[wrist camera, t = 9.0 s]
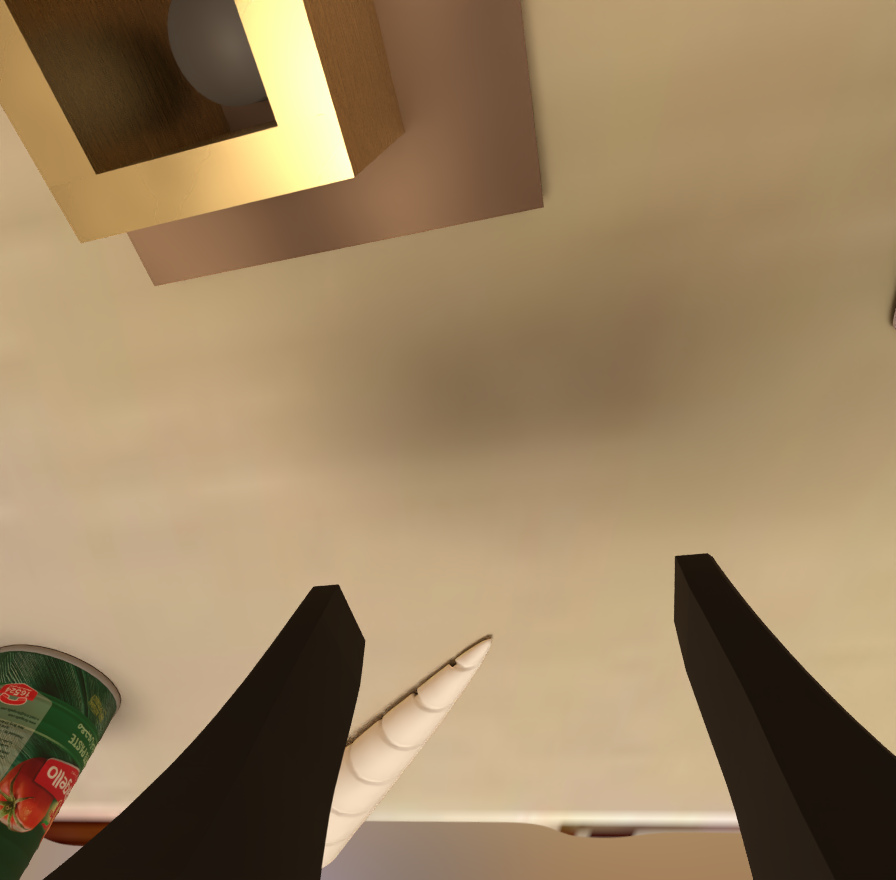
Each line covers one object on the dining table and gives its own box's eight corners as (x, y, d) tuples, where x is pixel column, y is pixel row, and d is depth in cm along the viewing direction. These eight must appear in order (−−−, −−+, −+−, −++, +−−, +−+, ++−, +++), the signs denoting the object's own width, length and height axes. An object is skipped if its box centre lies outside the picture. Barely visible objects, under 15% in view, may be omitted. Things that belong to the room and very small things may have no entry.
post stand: (478, -352, 11) (467, -525, 7) (541, 197, 16) (550, 236, 13) (-35, -149, 13) (-216, -214, 10) (173, 273, 18) (102, 322, 15)
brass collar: (334, -166, 11) (207, -324, 7) (405, 132, 14) (354, 177, 10) (103, -82, 13) (-154, -163, 8) (214, 180, 16) (80, 243, 11)
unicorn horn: (550, 659, 29) (557, 755, 25) (342, 805, 42) (325, 884, 38) (476, 621, 28) (470, 716, 24) (284, 783, 40) (259, 863, 36)
